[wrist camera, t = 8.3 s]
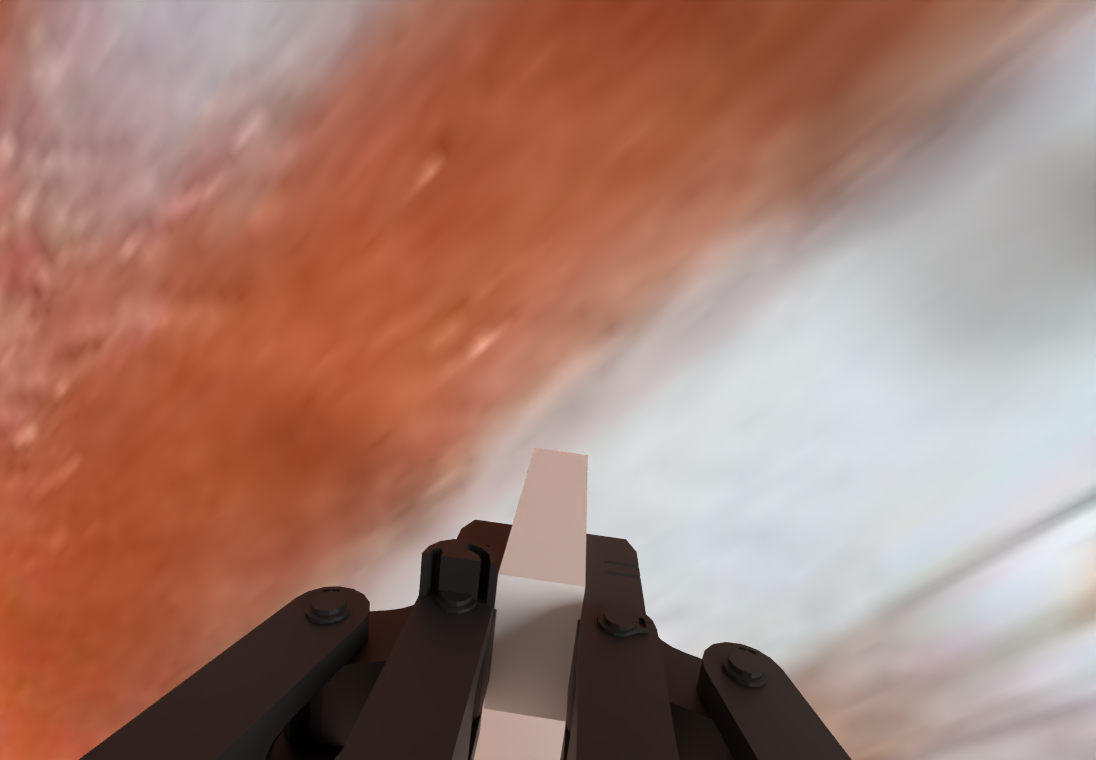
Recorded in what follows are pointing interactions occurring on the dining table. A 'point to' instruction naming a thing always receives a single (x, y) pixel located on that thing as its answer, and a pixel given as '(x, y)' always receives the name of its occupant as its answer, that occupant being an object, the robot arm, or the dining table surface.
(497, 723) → the container
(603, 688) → the robot arm
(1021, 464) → the dining table surface
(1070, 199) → the dining table surface
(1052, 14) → the dining table surface
